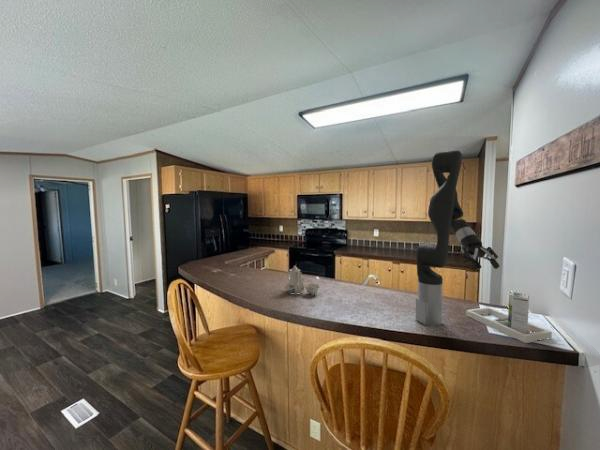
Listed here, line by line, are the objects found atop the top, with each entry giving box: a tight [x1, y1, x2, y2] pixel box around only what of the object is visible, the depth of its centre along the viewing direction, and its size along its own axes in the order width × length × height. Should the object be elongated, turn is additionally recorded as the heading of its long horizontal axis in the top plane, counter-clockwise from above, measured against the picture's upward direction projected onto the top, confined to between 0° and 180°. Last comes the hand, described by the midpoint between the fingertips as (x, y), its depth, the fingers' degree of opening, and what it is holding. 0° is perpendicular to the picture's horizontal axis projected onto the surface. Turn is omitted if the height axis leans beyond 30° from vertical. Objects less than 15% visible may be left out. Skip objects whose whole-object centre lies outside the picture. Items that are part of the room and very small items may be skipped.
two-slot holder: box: [465, 306, 553, 344], centre depth 103 cm, size 12×24×3 cm, turn 13°
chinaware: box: [285, 265, 320, 296], centre depth 151 cm, size 28×17×17 cm, turn 34°
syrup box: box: [507, 291, 530, 334], centre depth 98 cm, size 6×6×14 cm
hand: (488, 268), depth 109 cm, fingers open, 8 cm apart
